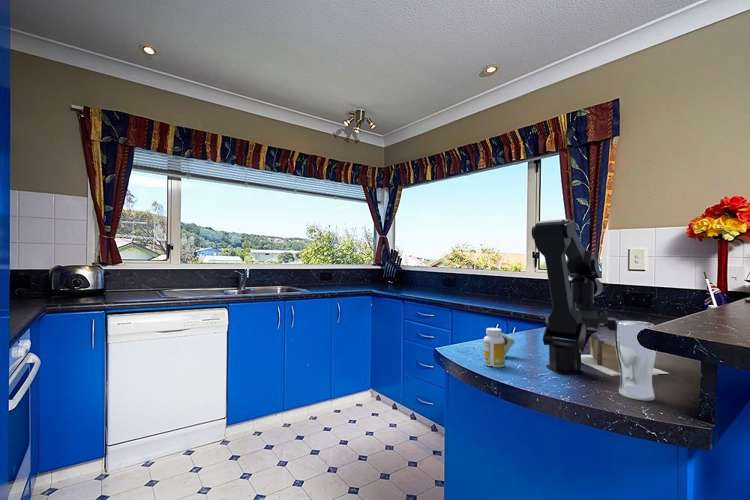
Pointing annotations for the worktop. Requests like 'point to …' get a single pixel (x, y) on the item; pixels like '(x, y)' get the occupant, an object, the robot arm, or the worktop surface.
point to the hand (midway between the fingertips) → (581, 351)
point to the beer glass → (634, 361)
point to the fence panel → (593, 345)
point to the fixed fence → (607, 356)
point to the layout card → (592, 362)
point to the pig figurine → (507, 342)
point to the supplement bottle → (494, 348)
